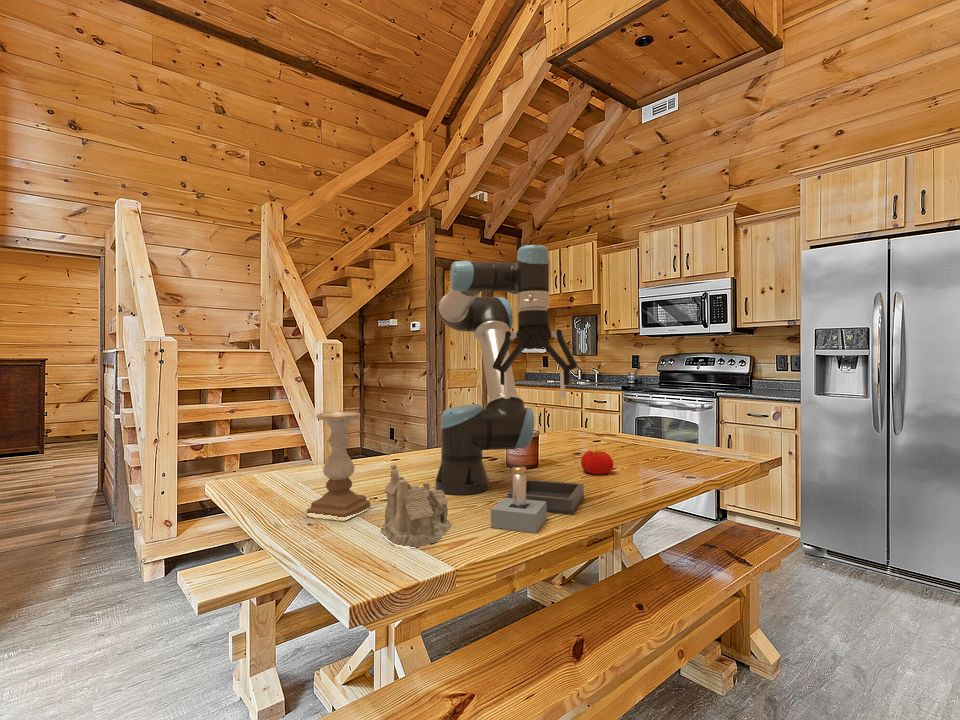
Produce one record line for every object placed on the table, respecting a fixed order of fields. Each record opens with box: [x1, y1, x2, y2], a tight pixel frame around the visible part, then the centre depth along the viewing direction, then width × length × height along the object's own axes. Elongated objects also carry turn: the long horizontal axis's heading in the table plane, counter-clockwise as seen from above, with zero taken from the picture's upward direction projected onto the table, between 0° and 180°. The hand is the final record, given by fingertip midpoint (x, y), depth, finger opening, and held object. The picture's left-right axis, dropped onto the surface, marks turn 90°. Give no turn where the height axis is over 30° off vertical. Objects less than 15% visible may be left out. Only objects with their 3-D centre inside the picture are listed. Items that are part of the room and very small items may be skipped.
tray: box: [506, 478, 585, 516], centre depth 129 cm, size 16×16×4 cm
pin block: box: [490, 497, 548, 534], centre depth 113 cm, size 10×10×4 cm
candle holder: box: [306, 411, 371, 517], centre depth 122 cm, size 11×11×24 cm
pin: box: [511, 465, 527, 509], centre depth 113 cm, size 3×3×12 cm
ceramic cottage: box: [380, 463, 452, 547], centre depth 108 cm, size 16×16×15 cm
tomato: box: [580, 450, 615, 476], centre depth 163 cm, size 10×11×7 cm
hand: (534, 398), depth 122 cm, fingers open, 13 cm apart
